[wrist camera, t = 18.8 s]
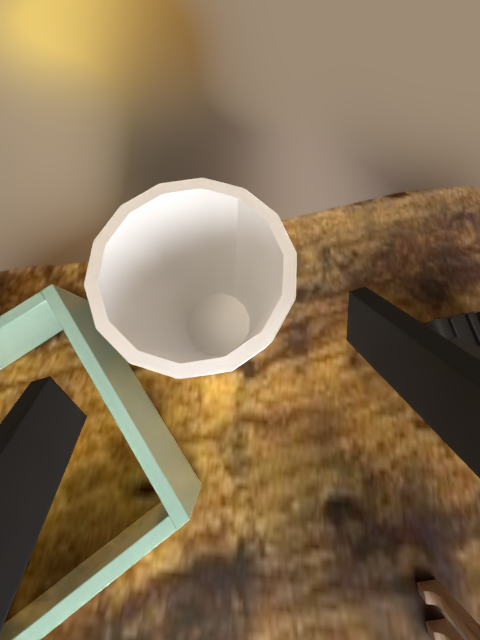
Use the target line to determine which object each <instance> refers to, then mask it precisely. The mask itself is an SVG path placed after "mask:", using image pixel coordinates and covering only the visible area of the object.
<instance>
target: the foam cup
mask: <svg viewBox="0 0 480 640" xmlns="http://www.w3.org/2000/svg"><path fill="white" fill-rule="evenodd" d="M296 271H297V253H296V251H295V249H294V246H293V244H292V242H291V240H290V238H289V236H288V234H287V232H286V230H285V228H284V226H283V224H282V222H281V220H280V218H279V216H278V214H277V213H275V212H274V211H273V210H271V209H270V208H269V207H267V206H266V205H265V204H264V203H262V202H261V201H260V200H258V199H257V198H256V197H255V196H254V195H252V194H251V193H250V192H249V191H247V190H246V189H245V188H241V187H237V186H233V185H229V184H226V183H222V182H218V181H214V180H210V179H206V178H196V179H189V180H182V181H175V182H167V183H160V184H158V185H156V186H154V187H152V188H151V189H149V190H147V191H145V192H144V193H142V194H140V195H138V196H137V197H135V198H133V199H131V200H130V201H128V202H126V203H124V204H122V205H121V206H120V207H119V208H118V210H117V211H116V212H115V214H114V215H113V216H112V218H111V219H110V220H109V221H108V223H107V224H106V225H105V227H104V228H103V229H102V231H101V232H100V233H99V234H98V236H97V237H96V238H95V240H94V241H93V246H92V250H91V255H90V259H89V264H88V268H87V273H86V277H85V282H84V287H85V290H86V294H87V298H88V301H89V305H90V309H91V313H92V316H93V320H94V324H95V327H96V329H97V330H98V331H99V332H100V334H101V335H102V336H103V337H104V338H105V339H106V340H107V341H108V342H109V343H110V344H111V345H112V346H113V347H114V348H115V349H116V350H117V351H118V352H119V353H120V354H121V355H122V356H123V357H124V358H125V359H126V360H127V361H128V362H129V363H130V364H133V365H136V366H139V367H142V368H145V369H148V370H152V371H155V372H158V373H161V374H164V375H167V376H170V377H173V378H176V379H182V378H191V377H197V376H204V375H210V374H217V373H223V372H229V371H233V370H235V369H236V368H237V367H239V366H240V365H242V364H243V363H245V362H246V361H247V360H249V359H250V358H252V357H253V356H255V355H256V354H257V353H259V352H260V351H262V350H263V349H265V348H266V347H267V346H268V345H269V344H270V343H271V342H272V341H273V339H274V338H275V336H276V334H277V332H278V330H279V328H280V327H281V325H282V323H283V321H284V319H285V318H286V316H287V314H288V312H289V310H290V308H291V307H292V305H293V303H294V301H295V299H296Z"/></svg>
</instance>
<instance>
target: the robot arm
mask: <svg viewBox="0 0 480 640" xmlns="http://www.w3.org/2000/svg"><path fill="white" fill-rule="evenodd" d="M347 341H348V342H349V343H350V344H351V345H352V346H353V347H354V348H355V349H356V350H357V351H358V352H359V353H360V354H361V355H362V356H363V357H364V358H365V359H366V360H367V361H368V362H369V364H370V365H371V366H372V367H373V368H374V369H375V370H376V371H377V372H378V373H379V374H380V375H381V376H382V377H383V378H384V379H385V380H386V381H387V382H388V383H389V384H390V385H391V386H392V387H393V388H394V390H395V391H396V392H397V393H398V394H399V395H400V396H401V397H402V398H403V399H404V400H405V401H406V402H407V403H408V404H409V405H410V406H411V407H412V408H413V409H414V410H415V411H416V412H417V413H418V415H419V416H420V417H421V418H422V419H423V420H424V421H425V422H426V423H427V424H428V425H429V426H430V427H431V428H432V429H433V430H434V431H435V432H436V433H437V434H438V435H439V436H440V437H441V438H442V439H443V441H444V442H445V443H446V444H447V445H448V446H449V447H450V448H451V449H452V450H453V451H454V452H455V453H456V454H457V455H458V456H459V457H460V458H461V459H462V460H463V461H464V462H465V463H466V464H467V465H468V467H469V468H470V469H471V470H472V471H473V472H474V473H475V474H476V475H477V476H478V477H479V478H480V347H479V346H477V345H476V344H473V343H470V342H467V341H465V340H462V339H459V338H456V337H453V338H450V339H446V338H445V337H443V336H441V335H440V334H438V333H437V332H435V331H434V330H432V329H431V328H429V327H427V326H426V325H424V324H423V323H421V322H420V321H418V320H416V319H415V318H413V317H412V316H410V315H409V314H407V313H405V312H404V311H402V310H401V309H399V308H398V307H396V306H395V305H393V304H391V303H390V302H388V301H387V300H385V299H384V298H382V297H380V296H379V295H377V294H376V293H374V292H373V291H371V290H370V289H368V288H366V287H364V288H360V289H357V290H353V291H349V306H348V324H347ZM86 417H87V416H86V415H85V414H84V413H83V412H82V411H81V410H80V408H79V407H78V406H77V405H76V404H75V403H74V402H73V401H72V400H71V399H70V398H69V397H68V395H67V394H66V393H65V392H64V391H63V390H62V389H61V388H60V387H59V386H58V385H57V384H56V382H55V381H54V380H53V379H52V378H51V377H47V378H43V379H40V380H36V381H33V382H31V383H30V384H29V386H28V387H27V388H26V390H25V391H24V393H23V394H22V395H21V397H20V398H19V399H18V401H17V402H16V403H15V405H14V406H13V408H12V409H11V410H10V412H9V413H8V414H7V416H6V417H5V419H4V420H3V421H2V423H1V424H0V632H1V629H2V627H3V624H4V622H5V619H6V617H7V614H8V612H9V609H10V607H11V604H12V602H13V599H14V597H15V594H16V592H17V589H18V587H19V584H20V582H21V579H22V577H23V574H24V572H25V569H26V567H27V564H28V562H29V559H30V557H31V554H32V552H33V549H34V547H35V544H36V542H37V539H38V537H39V534H40V532H41V529H42V527H43V524H44V522H45V519H46V517H47V514H48V512H49V510H50V507H51V505H52V502H53V500H54V497H55V495H56V492H57V490H58V487H59V485H60V482H61V480H62V477H63V475H64V472H65V470H66V467H67V465H68V462H69V460H70V457H71V455H72V452H73V450H74V447H75V445H76V442H77V440H78V437H79V435H80V432H81V430H82V427H83V425H84V422H85V420H86Z"/></svg>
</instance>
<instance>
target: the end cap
mask: <svg viewBox="0 0 480 640" xmlns="http://www.w3.org/2000/svg"><path fill="white" fill-rule="evenodd" d="M423 324H424V325H426V326H427V327H429V328H431V329H432V330H434V331H435V332H437V333H438V334H440V335H441V336H443V337H445V338H446V339H450V338H453V337H456V338H459V339H462V340H465V341H467V342H470V343H473V344H476V345H477V346H479V347H480V312H477V313H475V312H469V313H465V314H460V315H456V316H451V317H447V318H442V319H438V320H434V321H430V322H426V323H423Z"/></svg>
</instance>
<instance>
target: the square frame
mask: <svg viewBox="0 0 480 640" xmlns="http://www.w3.org/2000/svg"><path fill="white" fill-rule="evenodd" d="M62 330H64V332H65V334H66V335H67V337H68V339H69V341H70V343H71V344H72V346H73V348H74V350H75V351H76V353H77V355H78V357H79V358H80V360H81V362H82V364H83V365H84V367H85V369H86V371H87V372H88V374H89V376H90V378H91V379H92V381H93V383H94V385H95V386H96V388H97V390H98V392H99V393H100V395H101V397H102V399H103V400H104V402H105V404H106V406H107V407H108V409H109V411H110V413H111V414H112V416H113V418H114V420H115V421H116V423H117V425H118V427H119V428H120V430H121V432H122V434H123V435H124V437H125V439H126V441H127V442H128V444H129V446H130V448H131V449H132V451H133V453H134V455H135V456H136V458H137V460H138V462H139V463H140V465H141V467H142V469H143V470H144V472H145V474H146V476H147V477H148V479H149V481H150V483H151V484H152V486H153V488H154V490H155V491H156V493H157V495H158V497H159V498H160V500H161V502H160V503H158V504H157V505H156V506H154V507H153V508H152V509H151V510H149V511H148V512H147V513H146V514H144V515H143V516H142V517H140V518H139V519H138V520H137V521H135V522H134V523H133V524H131V525H130V526H129V527H128V528H126V529H125V530H124V531H122V532H121V533H120V534H119V535H117V536H116V537H115V538H113V539H112V540H111V541H110V542H108V543H107V544H106V545H104V546H103V547H102V548H101V549H99V550H98V551H97V552H95V553H94V554H93V555H92V556H90V557H89V558H88V559H86V560H85V561H84V562H83V563H81V564H80V565H79V566H77V567H76V568H75V569H74V570H72V571H71V572H70V573H69V574H67V575H66V576H65V577H63V578H62V579H61V580H60V581H58V582H57V583H56V584H54V585H53V586H52V587H51V588H49V589H48V590H47V591H45V592H44V593H43V594H42V595H40V596H39V597H38V598H36V599H35V600H34V601H33V602H31V603H30V604H29V605H27V606H26V607H25V608H24V609H22V610H21V611H20V612H18V613H17V614H16V615H15V616H13V617H12V618H11V619H9V620H8V621H7V622H6V623H4V624H3V627H2V629H1V632H0V640H40V639H41V638H43V637H44V636H45V635H46V634H48V633H49V632H50V631H51V630H53V629H54V628H55V627H56V626H58V625H59V624H60V623H61V622H63V621H64V620H65V619H66V618H68V617H69V616H70V615H71V614H73V613H74V612H75V611H76V610H78V609H79V608H80V607H81V606H83V605H84V604H85V603H86V602H88V601H89V600H90V599H91V598H93V597H94V596H95V595H96V594H98V593H99V592H100V591H101V590H103V589H104V588H105V587H106V586H108V585H109V584H110V583H111V582H113V581H114V580H115V579H116V578H117V577H119V576H120V575H121V574H122V573H124V572H125V571H126V570H127V569H129V568H130V567H131V566H132V565H134V564H135V563H136V562H137V561H139V560H140V559H141V558H142V557H144V556H145V555H146V554H147V553H149V552H150V551H151V550H152V549H154V548H155V547H156V546H157V545H159V544H160V543H161V542H162V541H164V540H165V539H166V538H167V537H169V536H170V535H171V534H172V533H174V532H175V531H176V530H177V529H179V528H180V527H181V526H182V525H184V524H185V523H186V522H187V521H189V520H190V518H191V515H192V512H193V509H194V506H195V504H196V501H197V498H198V495H199V492H200V490H201V487H202V483H201V482H200V480H199V478H198V477H197V475H196V473H195V472H194V470H193V468H192V467H191V465H190V464H189V462H188V460H187V459H186V457H185V455H184V454H183V452H182V450H181V449H180V447H179V446H178V444H177V442H176V441H175V439H174V437H173V436H172V434H171V432H170V431H169V429H168V428H167V426H166V424H165V423H164V421H163V419H162V418H161V416H160V415H159V413H158V411H157V410H156V408H155V406H154V405H153V403H152V401H151V400H150V398H149V397H148V395H147V393H146V392H145V390H144V388H143V387H142V385H141V383H140V382H139V380H138V379H137V377H136V375H135V374H134V372H133V370H132V369H131V367H130V365H129V364H128V362H127V361H126V359H125V358H124V357H123V356H122V355H121V354H120V353H119V352H118V351H117V350H116V349H115V348H114V347H113V346H112V345H111V344H110V343H109V342H108V341H107V340H106V339H105V338H104V337H103V336H102V335H101V334H100V332H99V331H98V330H97V329H96V327H95V324H94V320H93V316H92V313H91V309H90V305H89V301H88V300H86V299H84V298H81V297H79V296H77V295H75V294H73V293H71V292H68V291H66V290H64V289H62V288H60V287H58V286H56V285H53V284H51V285H49V286H48V287H46V288H44V289H43V290H41V291H40V292H38V293H37V294H35V295H33V296H32V297H30V298H29V299H27V300H25V301H24V302H22V303H21V304H19V305H17V306H16V307H14V308H12V309H11V310H9V311H8V312H6V313H4V314H3V315H1V316H0V370H2V369H3V368H5V367H6V366H8V365H9V364H11V363H12V362H14V361H16V360H17V359H19V358H20V357H22V356H23V355H25V354H26V353H28V352H29V351H31V350H33V349H34V348H36V347H37V346H39V345H40V344H42V343H43V342H45V341H47V340H48V339H50V338H51V337H53V336H54V335H56V334H57V333H59V332H60V331H62ZM29 560H30V559H29ZM28 564H29V562H28ZM28 564H27V566H28ZM26 568H27V567H26ZM25 570H26V569H25Z"/></svg>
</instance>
